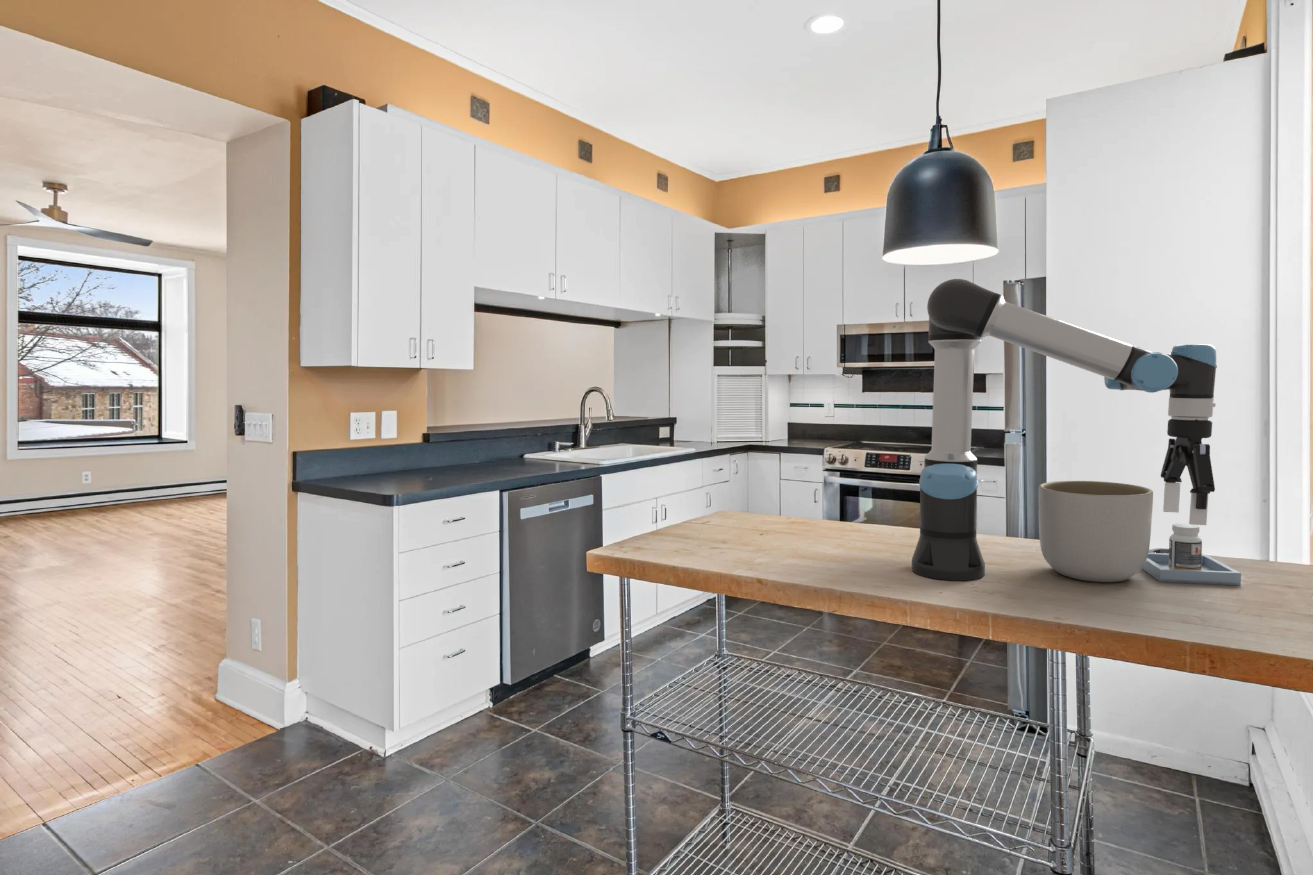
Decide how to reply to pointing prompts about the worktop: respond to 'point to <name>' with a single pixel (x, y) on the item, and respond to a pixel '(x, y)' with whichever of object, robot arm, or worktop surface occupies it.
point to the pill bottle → (1185, 547)
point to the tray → (1191, 571)
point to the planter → (1095, 528)
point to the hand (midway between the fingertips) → (1183, 518)
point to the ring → (1159, 550)
